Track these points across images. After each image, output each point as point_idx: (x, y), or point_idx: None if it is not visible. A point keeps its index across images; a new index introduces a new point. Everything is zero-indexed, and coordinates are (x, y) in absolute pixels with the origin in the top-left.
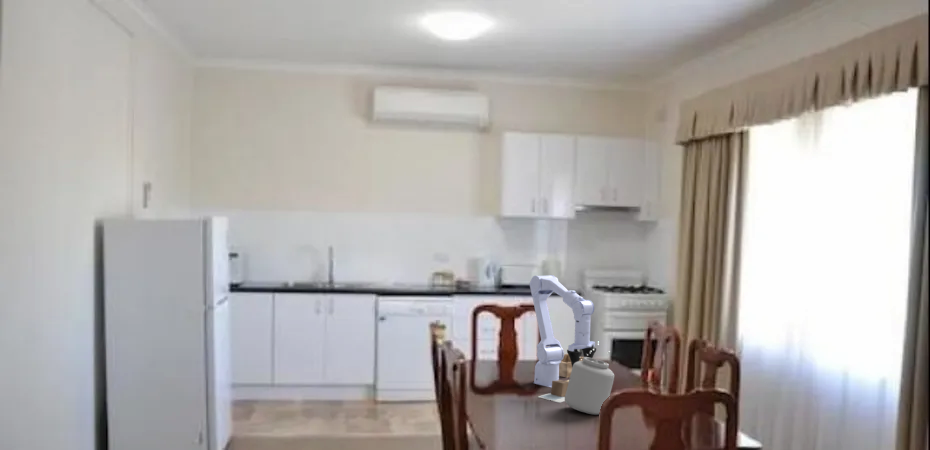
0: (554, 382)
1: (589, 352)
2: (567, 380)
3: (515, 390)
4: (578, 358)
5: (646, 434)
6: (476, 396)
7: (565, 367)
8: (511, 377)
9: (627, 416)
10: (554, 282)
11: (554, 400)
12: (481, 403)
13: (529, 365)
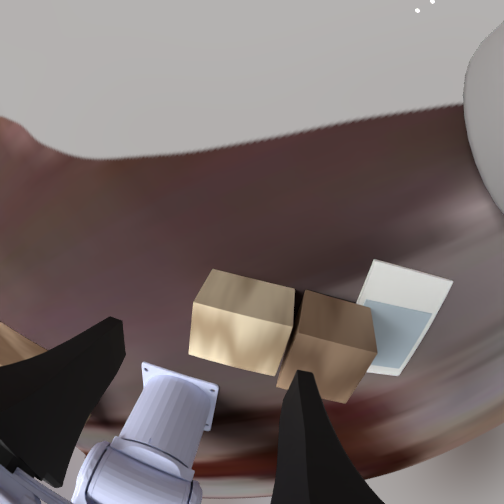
0: (352, 389)
1: (42, 421)
2: (222, 362)
3: (339, 438)
4: (335, 466)
5: None
6: (441, 451)
7: None
8: (203, 463)
9: None
10: None
11: (436, 308)
12: (496, 418)
13: (81, 436)
